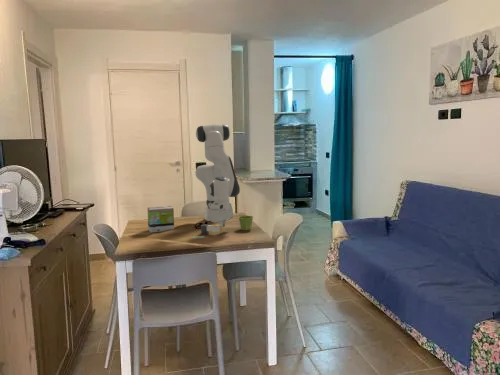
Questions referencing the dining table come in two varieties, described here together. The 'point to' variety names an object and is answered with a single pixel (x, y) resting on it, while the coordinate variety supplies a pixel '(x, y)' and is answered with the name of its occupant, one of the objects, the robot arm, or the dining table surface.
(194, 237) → the dial
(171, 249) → the dining table surface
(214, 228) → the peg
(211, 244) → the dining table surface
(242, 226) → the plant pot
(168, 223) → the tea box
